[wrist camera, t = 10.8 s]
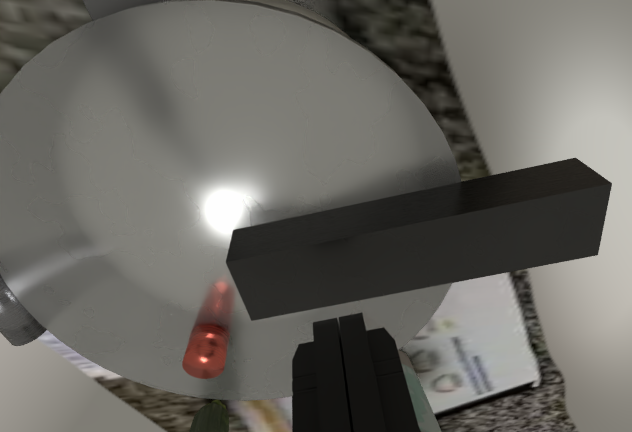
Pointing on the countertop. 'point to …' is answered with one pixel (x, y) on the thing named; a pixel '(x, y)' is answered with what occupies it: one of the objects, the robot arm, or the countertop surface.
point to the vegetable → (211, 418)
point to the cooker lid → (245, 197)
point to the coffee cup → (418, 397)
